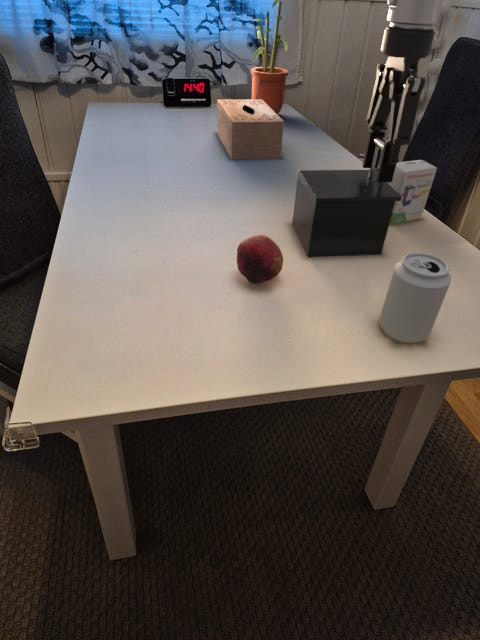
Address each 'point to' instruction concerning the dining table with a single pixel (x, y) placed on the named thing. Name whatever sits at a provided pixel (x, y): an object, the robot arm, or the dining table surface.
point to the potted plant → (269, 68)
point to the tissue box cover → (249, 129)
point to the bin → (340, 225)
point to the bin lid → (349, 183)
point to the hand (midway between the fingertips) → (376, 173)
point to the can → (415, 297)
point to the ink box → (411, 189)
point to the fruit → (259, 259)
